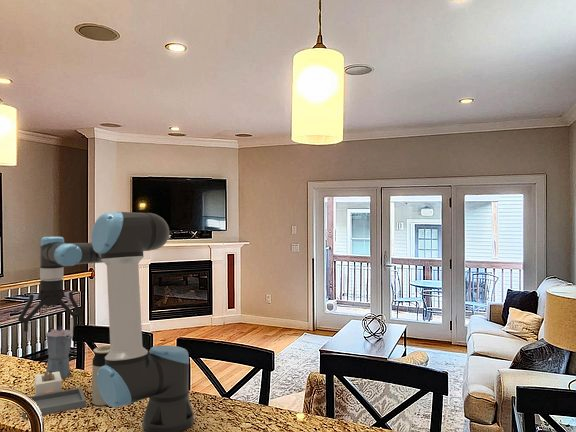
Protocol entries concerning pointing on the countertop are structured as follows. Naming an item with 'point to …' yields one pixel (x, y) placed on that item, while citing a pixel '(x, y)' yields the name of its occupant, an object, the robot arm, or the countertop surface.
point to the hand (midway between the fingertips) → (50, 338)
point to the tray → (59, 401)
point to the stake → (48, 376)
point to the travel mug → (97, 364)
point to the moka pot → (59, 351)
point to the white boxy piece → (48, 384)
